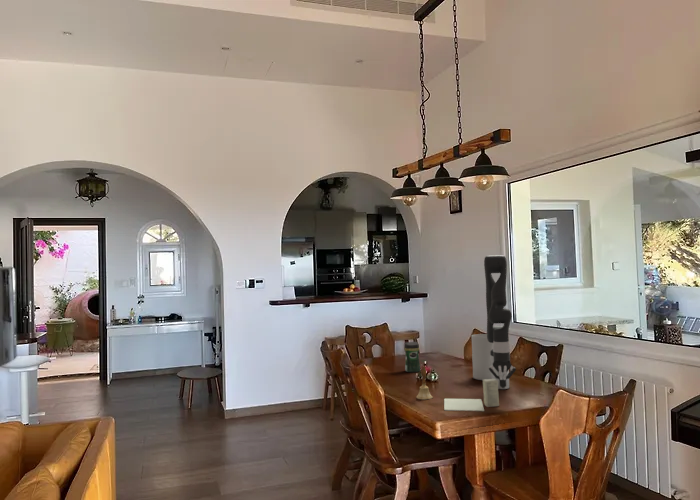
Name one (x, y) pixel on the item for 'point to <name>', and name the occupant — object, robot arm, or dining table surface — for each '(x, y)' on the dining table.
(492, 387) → the skincare box
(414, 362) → the coffee jar
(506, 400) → the dining table surface
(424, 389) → the hand bell
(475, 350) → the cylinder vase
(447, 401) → the mat
